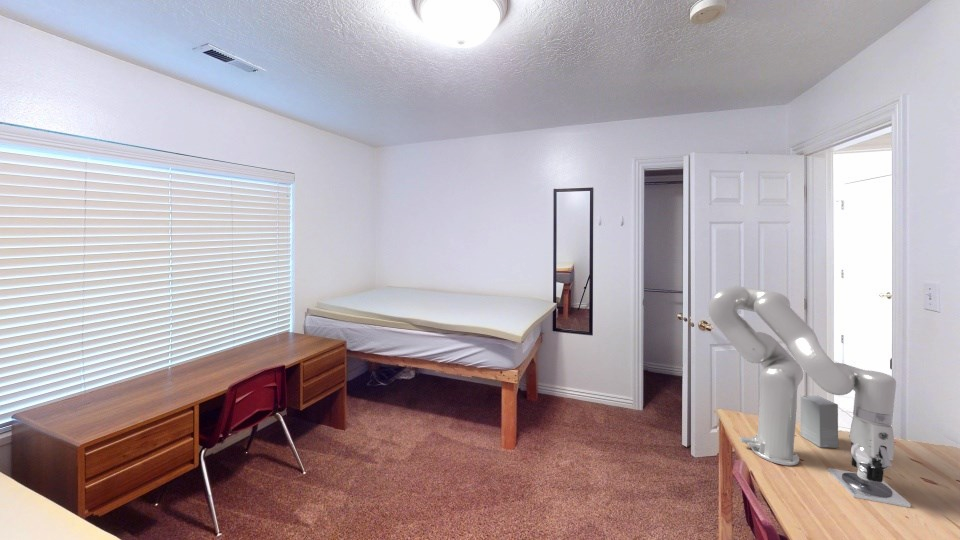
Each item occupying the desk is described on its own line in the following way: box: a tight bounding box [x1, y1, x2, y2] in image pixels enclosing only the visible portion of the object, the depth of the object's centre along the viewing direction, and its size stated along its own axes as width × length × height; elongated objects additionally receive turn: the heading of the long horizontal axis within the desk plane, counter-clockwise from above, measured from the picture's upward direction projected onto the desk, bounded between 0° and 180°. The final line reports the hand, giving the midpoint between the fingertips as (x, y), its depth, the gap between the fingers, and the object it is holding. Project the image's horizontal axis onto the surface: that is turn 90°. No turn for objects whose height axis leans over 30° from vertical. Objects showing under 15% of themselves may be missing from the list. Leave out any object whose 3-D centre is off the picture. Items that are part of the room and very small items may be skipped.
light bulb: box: [850, 443, 880, 483], centre depth 103 cm, size 7×7×12 cm
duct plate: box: [827, 467, 912, 508], centre depth 103 cm, size 12×12×1 cm
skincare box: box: [800, 395, 839, 449], centre depth 126 cm, size 8×7×16 cm
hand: (866, 472), depth 103 cm, fingers closed on light bulb, 5 cm apart
